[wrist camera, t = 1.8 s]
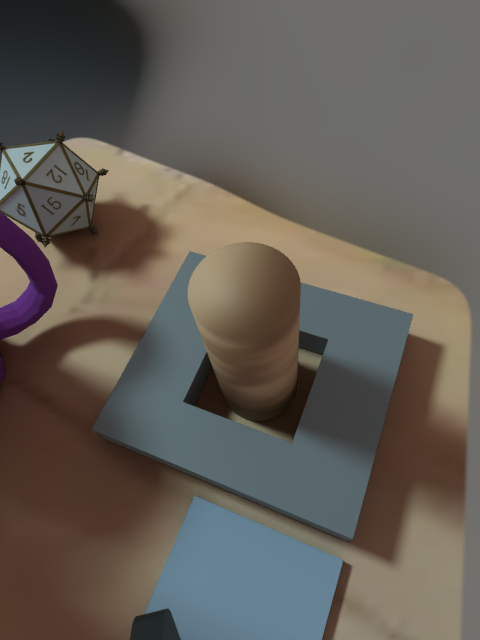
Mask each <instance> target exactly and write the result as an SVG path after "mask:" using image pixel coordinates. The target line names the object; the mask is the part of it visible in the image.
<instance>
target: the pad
mask: <svg viewBox="0 0 480 640" xmlns="http://www.w3.org/2000/svg"><path fill="white" fill-rule="evenodd" d="M342 563H343V560H341V559H339V558H337V557H335V556H332V555H330V554H328V553H325V552H323V551H321V550H319V549H316V548H314V547H312V546H309V545H307V544H305V543H302V542H300V541H298V540H296V539H293V538H291V537H289V536H286V535H284V534H282V533H279V532H277V531H275V530H273V529H270V528H268V527H266V526H263V525H261V524H259V523H256V522H254V521H252V520H250V519H247V518H245V517H243V516H240V515H238V514H236V513H234V512H231V511H229V510H227V509H224V508H222V507H220V506H217V505H215V504H213V503H211V502H208V501H206V500H204V499H201V498H199V497H197V496H194V498H193V500H192V503H191V505H190V508H189V510H188V512H187V515H186V517H185V519H184V522H183V524H182V526H181V529H180V531H179V533H178V536H177V538H176V541H175V543H174V545H173V548H172V550H171V552H170V555H169V557H168V559H167V562H166V564H165V566H164V569H163V571H162V574H161V576H160V578H159V581H158V583H157V585H156V588H155V590H154V592H153V595H152V597H151V600H150V602H149V604H148V607H147V609H146V611H145V614H148V613H151V612H155V611H159V610H163V609H167V608H168V609H169V610H170V611H171V613H172V616H173V619H174V622H175V625H176V627H177V630H178V633H179V636H180V639H181V640H322V637H323V633H324V630H325V626H326V622H327V619H328V615H329V611H330V608H331V604H332V600H333V596H334V593H335V589H336V585H337V582H338V578H339V574H340V571H341V567H342Z"/></svg>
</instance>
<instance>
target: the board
mask: <svg viewBox="0 0 480 640" xmlns="http://www.w3.org/2000/svg"><path fill="white" fill-rule="evenodd" d="M205 257H207V256H205V255H201V254H198V253H194V252H189V254H188V255H187V257H186V259H185V261H184V263H183V264H182V266H181V268H180V270H179V272H178V273H177V275H176V277H175V279H174V281H173V283H172V284H171V286H170V288H169V290H168V292H167V293H166V295H165V297H164V299H163V301H162V302H161V304H160V306H159V308H158V310H157V312H156V313H155V315H154V317H153V319H152V321H151V322H150V324H149V326H148V328H147V330H146V331H145V333H144V335H143V337H142V339H141V341H140V342H139V344H138V346H137V348H136V350H135V351H134V353H133V355H132V357H131V359H130V360H129V362H128V364H127V366H126V368H125V370H124V371H123V373H122V375H121V377H120V379H119V380H118V382H117V384H116V386H115V388H114V389H113V391H112V393H111V395H110V397H109V399H108V400H107V402H106V404H105V406H104V408H103V409H102V411H101V413H100V415H99V417H98V418H97V420H96V422H95V424H94V426H93V428H92V430H93V431H95V432H96V433H98V434H99V435H100V436H102V437H103V438H105V439H106V440H108V441H111V442H113V443H115V444H118V445H120V446H122V447H125V448H127V449H130V450H132V451H134V452H137V453H139V454H141V455H144V456H146V457H148V458H151V459H153V460H156V461H158V462H160V463H163V464H165V465H167V466H170V467H172V468H174V469H177V470H179V471H181V472H184V473H186V474H189V475H191V476H193V477H196V478H198V479H200V480H203V481H205V482H207V483H210V484H212V485H215V486H217V487H219V488H222V489H224V490H226V491H229V492H231V493H233V494H236V495H238V496H240V497H243V498H245V499H248V500H250V501H252V502H255V503H257V504H259V505H262V506H264V507H266V508H269V509H271V510H274V511H276V512H278V513H281V514H283V515H285V516H288V517H290V518H292V519H295V520H297V521H300V522H302V523H304V524H307V525H309V526H311V527H314V528H316V529H318V530H321V531H323V532H325V533H328V534H330V535H333V536H335V537H337V538H340V539H342V540H344V541H347V542H348V541H350V540H352V539H353V537H354V533H355V529H356V526H357V522H358V518H359V514H360V511H361V507H362V503H363V500H364V496H365V492H366V488H367V485H368V481H369V477H370V473H371V470H372V466H373V462H374V458H375V455H376V451H377V447H378V444H379V440H380V436H381V432H382V429H383V425H384V421H385V417H386V414H387V410H388V406H389V403H390V399H391V395H392V391H393V388H394V384H395V380H396V376H397V373H398V369H399V365H400V362H401V358H402V354H403V350H404V347H405V343H406V339H407V335H408V332H409V328H410V324H411V321H412V317H413V314H411V313H407V312H403V311H400V310H396V309H393V308H389V307H386V306H382V305H379V304H375V303H371V302H368V301H364V300H361V299H357V298H354V297H350V296H347V295H343V294H340V293H336V292H332V291H329V290H325V289H322V288H318V287H315V286H311V285H308V284H304V283H301V297H300V323H299V347H301V348H304V349H307V350H310V351H313V352H316V353H319V354H322V355H323V357H322V359H321V362H320V365H319V368H318V371H317V374H316V376H315V379H314V382H313V385H312V388H311V391H310V393H309V396H308V399H307V402H306V405H305V408H304V411H303V413H302V416H301V419H300V422H299V425H298V428H297V430H296V433H295V436H294V439H293V442H292V443H290V442H287V441H285V440H282V439H279V438H277V437H274V436H271V435H269V434H266V433H263V432H261V431H258V430H256V429H253V428H250V427H248V426H245V425H242V424H240V423H237V422H234V421H232V420H229V419H226V418H224V417H221V416H219V415H216V414H213V413H211V412H208V411H205V410H203V409H200V408H197V407H195V403H196V401H197V399H198V397H199V395H200V393H201V390H202V388H203V386H204V384H205V382H206V380H207V377H208V375H209V373H210V371H211V369H212V367H213V366H212V364H211V361H210V359H209V356H208V353H207V351H206V348H205V345H204V343H203V340H202V337H201V335H200V332H199V329H198V327H197V324H196V322H195V319H194V316H193V314H192V311H191V308H190V305H189V302H188V284H189V281H190V278H191V276H192V273H193V272H194V270H195V268H196V267H197V266H198V264H199V263H200V262H201V261H202V260H203V259H204V258H205Z"/></svg>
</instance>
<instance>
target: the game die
mask: <svg viewBox="0 0 480 640" xmlns="http://www.w3.org/2000/svg"><path fill="white" fill-rule="evenodd" d="M64 138H65V136H64V134H63V132H62V131H61V132H60V133H58V134H57V141H55V140H54V139H53V138H51V139H49V141H48V142H44V143H36V144H29V145H20V146H11V147H3V145H2V143H0V150H1V157H0V212H1V213H3V214H5V215H6V216H8V217H10V218H12V219H13V220H15V221H17V222H19V223H20V224H22V225H24V226H26V227H27V228H29V229H31V230H32V231H34V232H36V236H35V237H36V239H37V241H39V240H41V239H42V240H43V241H42V244H43V245H44V246H45V247H46V246H47V245H48V244H50V242H49V241H50V240H49V238H48V237H52V236H57V235H61V234H65V233H70V232H74V231H78V230H83V229H87V228H89V229H90V232H92V234H93V233H94V234H98V231H97V229H96V228H95V227H93V226H92V225H91V224H92V218H93V212H94V205H95V199H96V193H97V186H98V180H99V176H100V175H102V176H103V175H106V174H107V172H108V171H109V170H105V169H103V168H102V170H101V169H100V171H98V172H97V171H96V170H95V169H93V168H92V167H91V166H90V165H88V164H87V163H86V162H85V161H84V160H82V159H81V158H80V157H79V156H78V155H76V154H75V153H74V152H73V151H71V150H70V149H69V148H68V147H67V146H65V145H64V144H63V143H62V142H63V141H64ZM42 236H43V238H42Z"/></svg>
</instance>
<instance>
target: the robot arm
mask: <svg viewBox="0 0 480 640" xmlns="http://www.w3.org/2000/svg"><path fill="white" fill-rule="evenodd" d="M130 640H181V639H180V636H179V633H178V630H177V627H176V625H175V622H174V619H173V616H172V613H171V611H170V610H169V609H168V608H167V609H163V610H159V611H155V612H151V613H148V614H144V615H140V616H136V617H135V619H134V621H133V625H132V631H131V637H130Z"/></svg>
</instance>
